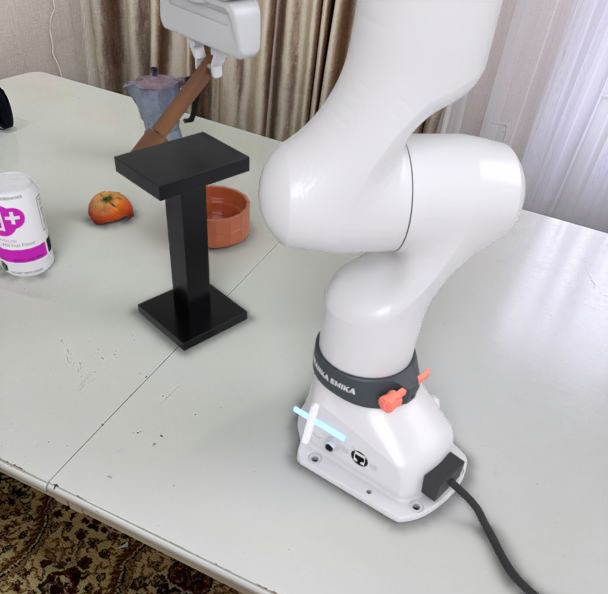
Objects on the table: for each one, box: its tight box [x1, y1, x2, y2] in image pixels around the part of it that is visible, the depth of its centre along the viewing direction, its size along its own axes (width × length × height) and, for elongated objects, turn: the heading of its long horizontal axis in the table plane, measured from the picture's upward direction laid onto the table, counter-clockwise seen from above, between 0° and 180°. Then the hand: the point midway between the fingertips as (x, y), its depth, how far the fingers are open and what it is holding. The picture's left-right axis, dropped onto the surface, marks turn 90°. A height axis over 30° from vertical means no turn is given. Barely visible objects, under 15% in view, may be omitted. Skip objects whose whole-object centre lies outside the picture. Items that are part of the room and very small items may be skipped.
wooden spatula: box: [130, 50, 228, 152], centre depth 97 cm, size 4×22×2 cm
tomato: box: [87, 190, 135, 226], centre depth 117 cm, size 8×7×7 cm
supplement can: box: [0, 171, 55, 278], centre depth 99 cm, size 8×8×15 cm
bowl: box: [206, 184, 251, 249], centre depth 114 cm, size 13×13×6 cm
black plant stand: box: [113, 131, 251, 352], centre depth 88 cm, size 12×14×26 cm
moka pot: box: [122, 66, 202, 141], centre depth 130 cm, size 10×15×20 cm, turn 107°
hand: (208, 73), depth 97 cm, fingers closed on wooden spatula, 2 cm apart
